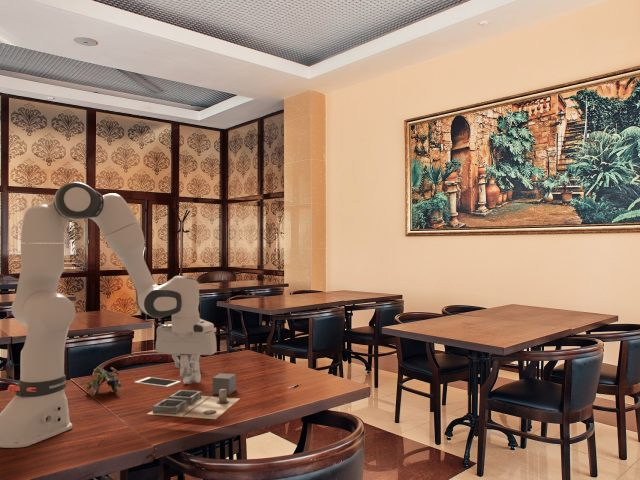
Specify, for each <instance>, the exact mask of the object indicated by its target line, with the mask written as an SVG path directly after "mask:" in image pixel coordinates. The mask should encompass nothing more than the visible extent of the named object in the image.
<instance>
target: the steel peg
mask: <svg viewBox="0 0 640 480" xmlns="http://www.w3.org/2000/svg"><path fill="white" fill-rule="evenodd" d="M179 361H180V367H179V377H181V378H183V377H189V376H192V375H193V369H192V368H191V367H190V366H191V365H190V363H191V362H192V354H179Z"/></svg>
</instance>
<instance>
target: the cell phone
mask: <svg viewBox="0 0 640 480" xmlns="http://www.w3.org/2000/svg"><path fill="white" fill-rule="evenodd" d="M134 383H135V384H143V385H149V386H157V387H162V388H163V387H164V388H169V387H172V386H175V385H176V384H177V385H178V384H179V383H181V380H175V379H174V380H173V379H166V378H160V377H159V378H158V377H153V376H152V377H151V376H148V377H144V378H142V379H138V380H136V381H134Z"/></svg>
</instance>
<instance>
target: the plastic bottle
mask: <svg viewBox="0 0 640 480" xmlns="http://www.w3.org/2000/svg"><path fill="white" fill-rule="evenodd" d="M194 359H195V358H194V357H193V354H192V362H193V361H194ZM192 369H193V375H192V376H189V377H182V382H183V384H184V385H185V384H186V385H192V384H196V383H197V384H199V383H200V382H201V379H202V375H201V370H200V359H198V361H197V367H196V368H192Z"/></svg>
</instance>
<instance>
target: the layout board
mask: <svg viewBox="0 0 640 480" xmlns="http://www.w3.org/2000/svg"><path fill="white" fill-rule="evenodd" d="M240 399H241V398H239V397H238V398H237V397H228V395H227V389H220V390H219V394H218V396H205V395H202V390H186V389H180V390H177V391H176V392H175V393H173V394H171V395H169V396H168V398H164V399H163V400H160V401H159V402H157V403H156V404H154V405H153V406H152V410H151V411H150V412H148V413H147V415H153V416H155V415H156V416H169V417H180V418H181V417H182V418H183V417H184V418H197V419H208V420H209V419H210V420H217V419H218V418H220V417H221V415H222V414H224V413H225V412H226V411H227V410H228V409H230V408H231V407H232V406H233V405H235V404H236V403H238V401H239V400H240Z"/></svg>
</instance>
